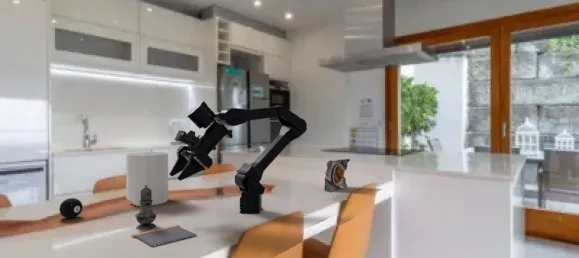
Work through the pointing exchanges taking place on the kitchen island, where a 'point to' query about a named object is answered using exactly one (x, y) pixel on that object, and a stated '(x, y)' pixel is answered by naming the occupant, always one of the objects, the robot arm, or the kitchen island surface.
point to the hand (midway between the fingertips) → (174, 177)
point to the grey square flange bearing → (335, 174)
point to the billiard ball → (71, 208)
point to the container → (147, 176)
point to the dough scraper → (163, 235)
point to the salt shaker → (146, 211)
